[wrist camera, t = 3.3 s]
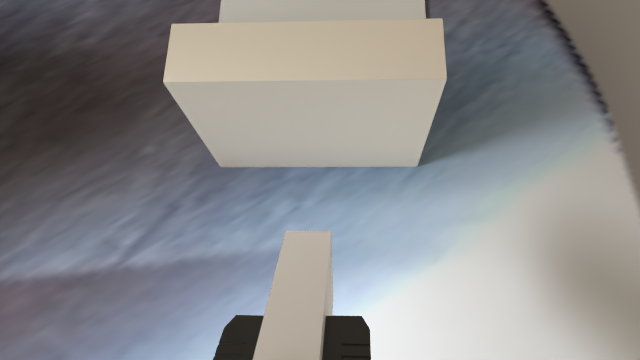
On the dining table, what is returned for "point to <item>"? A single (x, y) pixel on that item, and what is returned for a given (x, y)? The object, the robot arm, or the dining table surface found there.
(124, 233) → the dining table surface
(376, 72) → the tile
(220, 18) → the mat
